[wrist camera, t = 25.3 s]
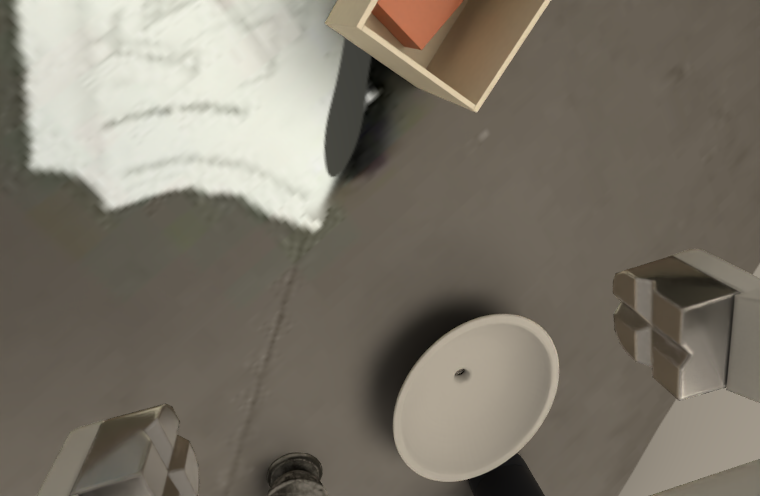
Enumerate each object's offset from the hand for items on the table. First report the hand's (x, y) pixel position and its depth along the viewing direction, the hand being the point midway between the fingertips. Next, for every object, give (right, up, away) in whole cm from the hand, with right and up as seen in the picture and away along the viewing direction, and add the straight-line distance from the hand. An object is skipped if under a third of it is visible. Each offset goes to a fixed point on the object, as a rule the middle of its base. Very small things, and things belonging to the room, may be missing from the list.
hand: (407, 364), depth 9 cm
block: (+1, +19, +26) cm, 32 cm away
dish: (+7, -9, +40) cm, 41 cm away
